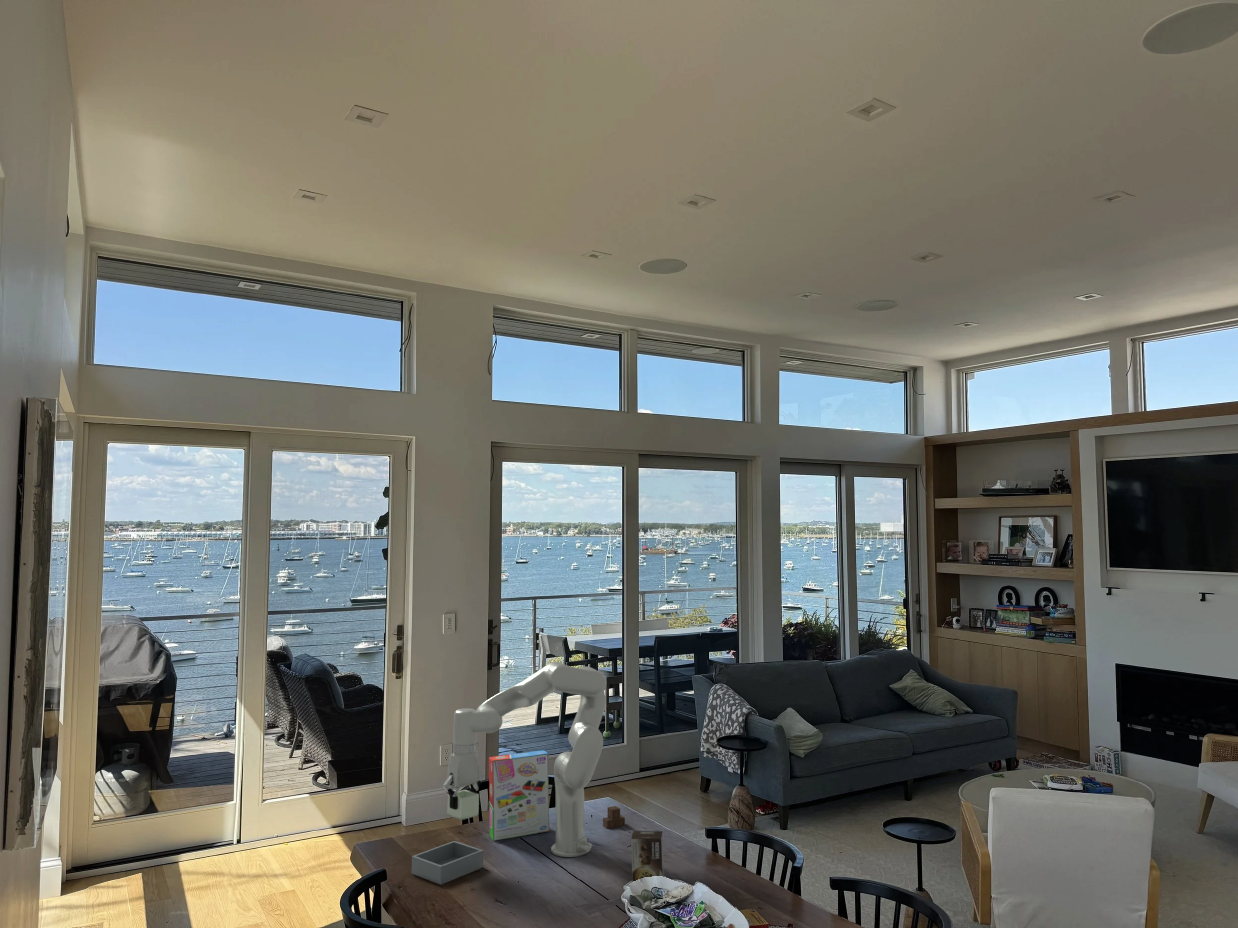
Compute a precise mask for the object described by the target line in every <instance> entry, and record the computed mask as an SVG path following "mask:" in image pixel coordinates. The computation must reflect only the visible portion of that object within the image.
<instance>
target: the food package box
mask: <svg viewBox="0 0 1238 928" xmlns="http://www.w3.org/2000/svg"><path fill="white" fill-rule="evenodd" d="M663 836H664V835H663V830H660V831H659V830H656V831H655V830H652V831H651V830H634V831H632V834H631V838H630V843H631V875H632V878H631V879H632V880H631V882H633V881H636V880H638V879H641V878H644V877H652V876H663V877H664V876H665V875H664V845H663V844H664V843H663V842H664V840H663ZM664 878H665V877H664Z"/></svg>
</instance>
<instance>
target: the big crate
mask: <svg viewBox="0 0 1238 928" xmlns="http://www.w3.org/2000/svg"><path fill="white" fill-rule="evenodd" d="M483 868H484V850H483V849H480V848H477V847H474V846H471V845H469V844H465V843H462V842H459V841H456V840H453V841H450V842H447V843H444V844H442V845H439V846H436V847H434V848H430V849H428V850H425V851H422V852H420V853H417V854H414V855H412V856H411V874H412V875H415V876H417V877H419V878H422V879H425V880H427V881H430V882H433V883H435V884H438V885H439V886H441V885H444V884H445V883H449V882H451V881H454V880H456V879H458V878H461V877H463V876H465V875H468V874H470V873H473V872H475V871H477V870H479V869H483Z"/></svg>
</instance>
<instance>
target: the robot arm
mask: <svg viewBox="0 0 1238 928" xmlns="http://www.w3.org/2000/svg"><path fill="white" fill-rule="evenodd" d="M606 688H607V679H606V676H605V675H604V674H603V673H602V672H601V671H599V670H597V669H595V668H593V667H591V666H580V667H573V666H570V665H567V664H564V663H563V662H559V661H551V662H550V663H547V664H546V665H545V666H542V667H541V668H540V669H538V670H537V671H535V672H534V673H533V674H530V676H528V677H526V678H525V679H524V680H522V681H520V682H519V683H517V684H514V685H513V686H510V687H508V688H507V689H505V690H502V691H500V692H499V693H496V694H495V695H494V696H492V697H490V698H489V699H487V700H486V701H484V702H483V703H482V704H480V705H479V706H478V707H477V708H476V709H474V708H470V707H469V708H467V707H465V708H458V709H456V710H455V711H454V713H453V731H452V732H453V734H452V735H453V736H452V753H450V755H449V760H448V764H447V773H446V780H445V781H444V783H443V784H442V788H443V789H444V791H445V792H446V793H447V796H448V795H450V808H452V809H455V810H456V809H457V808H458V796H456V795H457V792H459V791H460V788H462V787H467V786H469V789H468V791H470V792H473V793H477V791H479V787H480V786H481V784H482V781H483V780H484V778H485V775H484V774H483V773H482V772H481V771H480V761H479V753H478V752H479V751H477V747H479V742H478V740H477V739H478V733H483V734H484V733H485V734H493V733H496V732H498V731H499V730H500V729H501V727H502V726H503V717H504V716H505V715H508V714H509V713H511V712H512V711H515V710H517V709H522V708H523V709H524V708H528V707H532V706H534V705H535V704H536V705H537V703H538V702H540V701H541V700H543V699H544V698H545V697H547V696H548V695H550V694H552V693H553V692H555V691H558V692H562V693H566V694H571V695H578V696H580V700H579V701H580V702H579V706H578V709H577V713H576V714H575V717H574V719H573V722H572V724H571V728H569V732H568V735H567V737H568V739H567V740H568V743H569V744H570V746H571V747H572V751H564V752H562V753H560V754H559V755H558V756H557V757H556V759H555V761H554V764H553V777H554V787H555V788H554V789H555V791H554V792H555V843H554V844H552V846H551V847H550V852H551V853H552V854H553V855H554V856H557V857H561V858H575V857H581V856H584V855H585V854H587V853H589V852H590V851H591V849H592V848H593V843H590V842H588V841H587V840H588V838H587V836H585V789H584V788H585V787H586V786H588V784H589V783H590V781H591V780H592V778H593V776H594V773H595V770H596V768H597V764H598V762H599V760H600V757H601V754H602V752H603V751H602V750H603V746H604V737H603V733H602V732H601V731H600V729H599V727H600V725H601V721H602V717H603V715H604V712H605V708H606V707H605V706H606V694H605V691H606ZM477 794H478V793H477Z"/></svg>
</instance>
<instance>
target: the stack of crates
mask: <svg viewBox="0 0 1238 928" xmlns="http://www.w3.org/2000/svg"><path fill="white" fill-rule="evenodd" d="M606 808H607V816H606V817H602V826H603V827H604V828H606V830H609V829H613V828H618V827H619V828H620V827H625V826H626V818H625V816H624V815H622V814H621V808H620V807H618V806H617V805H613V806H608V807H606Z"/></svg>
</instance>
